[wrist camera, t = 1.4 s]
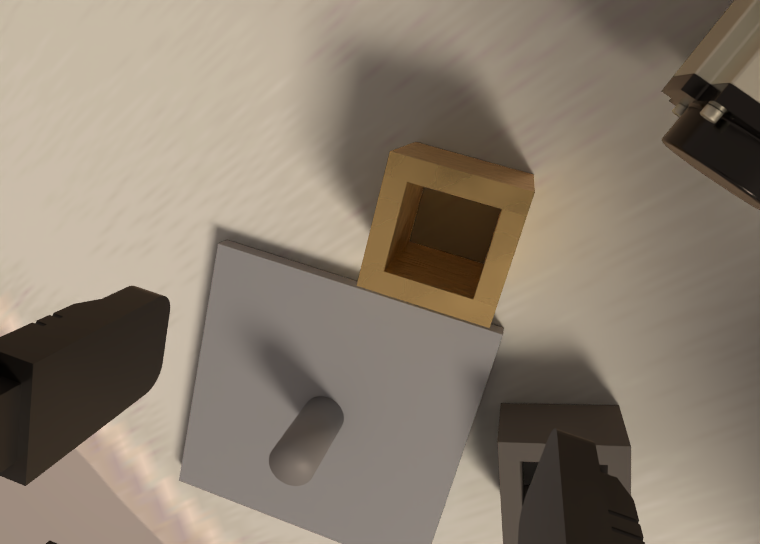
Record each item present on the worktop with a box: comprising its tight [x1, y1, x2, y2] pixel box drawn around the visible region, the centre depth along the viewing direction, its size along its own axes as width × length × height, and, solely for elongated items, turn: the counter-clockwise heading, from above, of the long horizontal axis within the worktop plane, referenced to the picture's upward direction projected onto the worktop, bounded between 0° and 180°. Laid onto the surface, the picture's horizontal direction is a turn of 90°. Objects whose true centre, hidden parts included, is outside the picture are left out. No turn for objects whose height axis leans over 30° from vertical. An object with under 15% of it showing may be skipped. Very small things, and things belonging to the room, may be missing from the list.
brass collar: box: [357, 142, 535, 328], centre depth 28 cm, size 6×6×6 cm
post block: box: [179, 240, 504, 544], centre depth 33 cm, size 16×16×6 cm
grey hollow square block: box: [497, 403, 631, 544], centre depth 31 cm, size 6×6×4 cm
